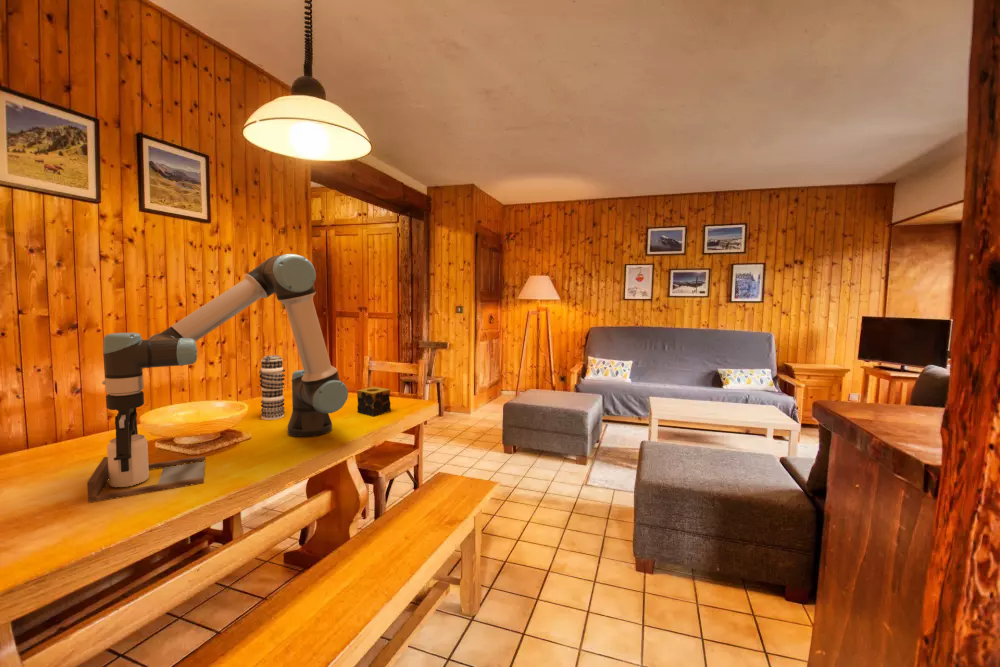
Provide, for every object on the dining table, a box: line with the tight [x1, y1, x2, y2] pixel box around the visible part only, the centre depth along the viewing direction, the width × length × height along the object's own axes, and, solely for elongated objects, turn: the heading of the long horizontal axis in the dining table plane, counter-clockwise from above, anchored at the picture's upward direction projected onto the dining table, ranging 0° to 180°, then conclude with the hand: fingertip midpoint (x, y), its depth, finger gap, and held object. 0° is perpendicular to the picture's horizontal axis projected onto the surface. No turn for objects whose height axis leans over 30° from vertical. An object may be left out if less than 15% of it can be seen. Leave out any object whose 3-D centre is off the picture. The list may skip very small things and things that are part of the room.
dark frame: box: [86, 455, 206, 503], centre depth 119 cm, size 23×18×5 cm
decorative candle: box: [258, 354, 286, 421], centre depth 177 cm, size 9×9×25 cm
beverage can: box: [106, 433, 150, 488], centre depth 116 cm, size 8×8×12 cm
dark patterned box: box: [356, 386, 392, 417], centre depth 189 cm, size 10×10×10 cm
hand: (129, 476), depth 116 cm, fingers closed on beverage can, 8 cm apart
